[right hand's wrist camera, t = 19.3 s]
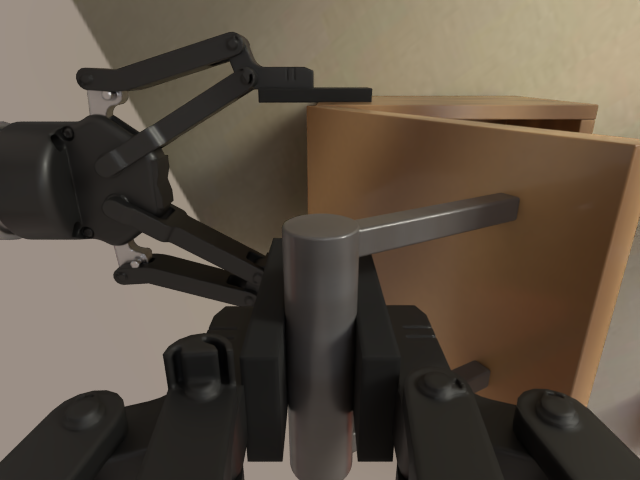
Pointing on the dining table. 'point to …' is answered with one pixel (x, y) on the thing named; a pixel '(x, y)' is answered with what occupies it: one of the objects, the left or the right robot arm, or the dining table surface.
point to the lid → (452, 258)
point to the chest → (488, 110)
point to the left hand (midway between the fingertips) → (366, 181)
